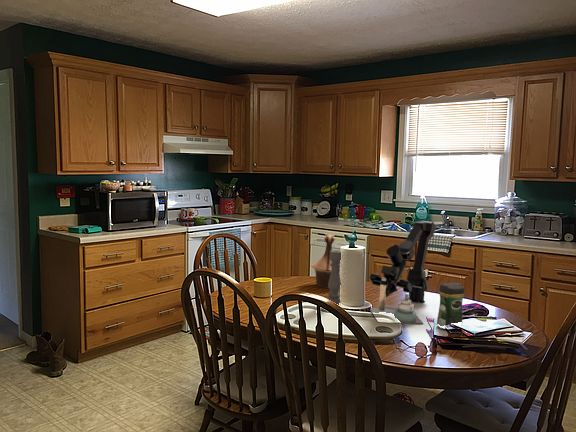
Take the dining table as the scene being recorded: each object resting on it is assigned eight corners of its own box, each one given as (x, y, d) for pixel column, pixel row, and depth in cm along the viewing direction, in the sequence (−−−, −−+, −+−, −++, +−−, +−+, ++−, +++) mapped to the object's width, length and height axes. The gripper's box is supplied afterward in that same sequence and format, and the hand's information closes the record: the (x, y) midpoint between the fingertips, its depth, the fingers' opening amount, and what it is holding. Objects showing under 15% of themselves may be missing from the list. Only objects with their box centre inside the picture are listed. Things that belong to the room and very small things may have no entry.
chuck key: (413, 312, 210) (415, 287, 209) (412, 316, 204) (414, 290, 203) (379, 307, 215) (381, 283, 214) (377, 311, 209) (378, 286, 208)
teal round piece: (412, 317, 213) (413, 309, 213) (418, 324, 204) (419, 315, 204) (391, 316, 213) (392, 308, 213) (396, 323, 204) (397, 314, 204)
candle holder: (331, 307, 224) (334, 252, 221) (324, 303, 229) (327, 250, 226) (343, 305, 227) (345, 252, 224) (335, 302, 232) (338, 249, 229)
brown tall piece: (343, 290, 254) (346, 237, 251) (310, 289, 254) (313, 235, 251) (340, 282, 271) (343, 232, 268) (309, 281, 271) (312, 231, 269)
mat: (410, 310, 223) (411, 309, 223) (423, 324, 204) (423, 322, 204) (369, 309, 223) (369, 307, 223) (377, 322, 204) (377, 321, 204)
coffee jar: (452, 324, 206) (456, 280, 204) (465, 330, 199) (468, 285, 197) (433, 325, 203) (436, 281, 201) (444, 332, 196) (448, 286, 194)
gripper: (372, 255, 221) (357, 283, 214) (411, 262, 209) (396, 292, 202) (380, 270, 228) (366, 297, 221) (417, 277, 216) (404, 307, 209)
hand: (382, 298), depth 213 cm, fingers closed
